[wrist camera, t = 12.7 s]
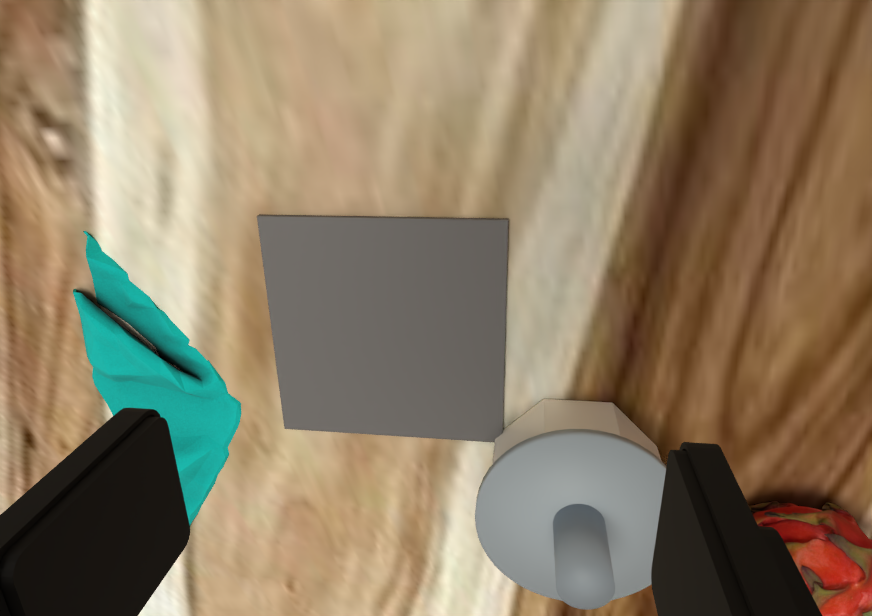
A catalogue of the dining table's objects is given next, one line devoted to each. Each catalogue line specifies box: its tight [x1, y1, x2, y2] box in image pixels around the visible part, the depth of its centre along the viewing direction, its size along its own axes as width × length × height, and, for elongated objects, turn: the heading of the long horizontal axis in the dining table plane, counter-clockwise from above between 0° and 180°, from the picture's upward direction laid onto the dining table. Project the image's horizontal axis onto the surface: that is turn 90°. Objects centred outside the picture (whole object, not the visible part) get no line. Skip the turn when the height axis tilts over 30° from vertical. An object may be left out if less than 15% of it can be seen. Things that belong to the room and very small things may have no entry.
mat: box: [257, 215, 508, 442], centre depth 42 cm, size 16×16×1 cm
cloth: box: [73, 231, 241, 525], centre depth 47 cm, size 26×14×2 cm, turn 175°
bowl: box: [493, 399, 661, 464], centre depth 42 cm, size 11×11×5 cm
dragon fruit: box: [749, 501, 872, 616], centre depth 40 cm, size 8×8×12 cm
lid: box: [475, 429, 667, 609], centre depth 37 cm, size 13×13×6 cm
